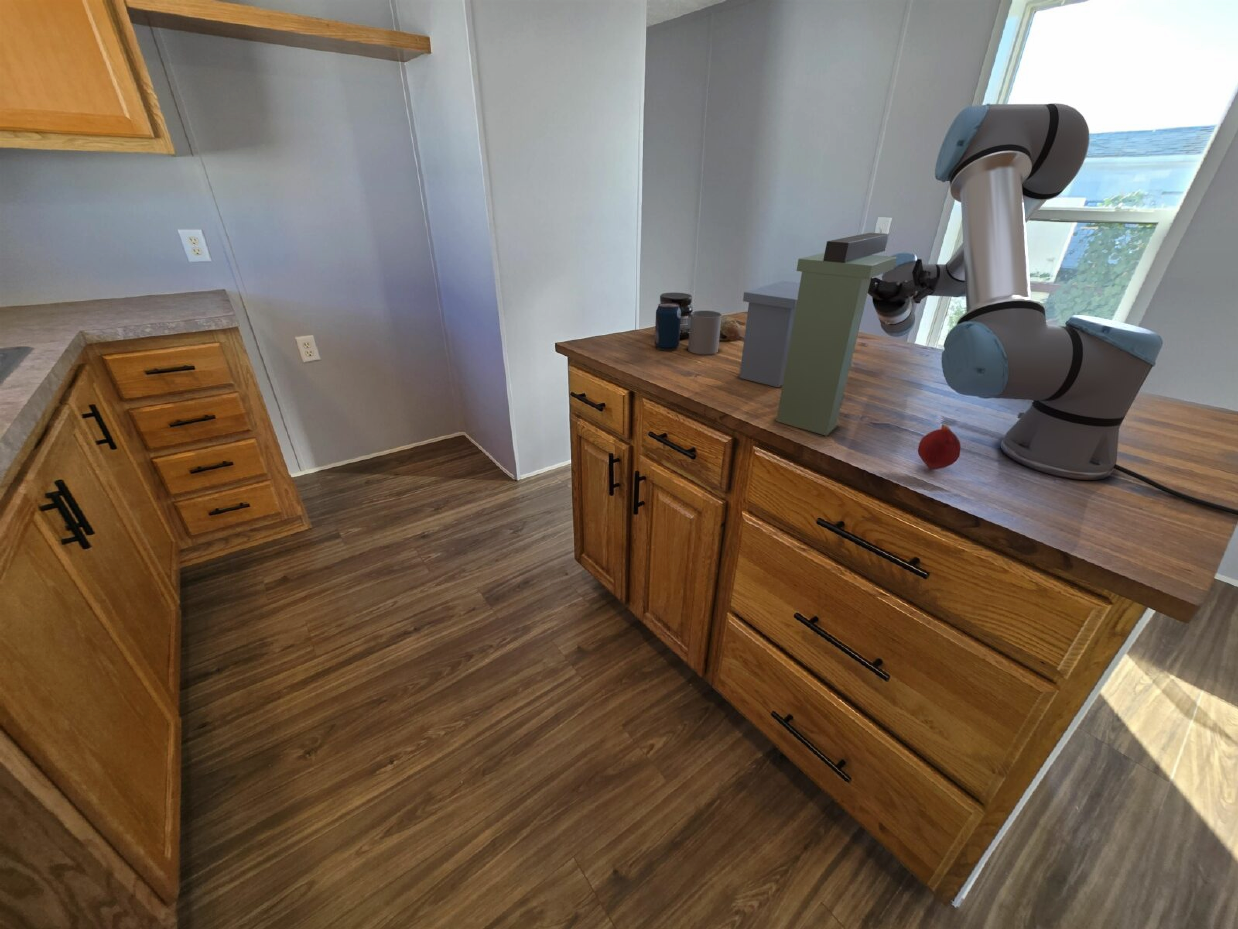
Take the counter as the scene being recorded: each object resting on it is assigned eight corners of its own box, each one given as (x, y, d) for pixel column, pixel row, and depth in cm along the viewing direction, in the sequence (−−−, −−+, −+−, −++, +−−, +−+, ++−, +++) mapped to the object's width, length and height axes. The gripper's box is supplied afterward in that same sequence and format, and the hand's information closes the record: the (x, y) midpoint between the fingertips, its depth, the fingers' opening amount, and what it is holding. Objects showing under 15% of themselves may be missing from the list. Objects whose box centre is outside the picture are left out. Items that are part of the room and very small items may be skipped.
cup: (717, 355, 138) (721, 318, 133) (687, 353, 139) (689, 316, 134) (718, 346, 145) (722, 311, 140) (689, 345, 146) (692, 309, 142)
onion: (952, 466, 84) (969, 423, 80) (951, 481, 80) (968, 436, 76) (914, 457, 87) (928, 415, 83) (910, 471, 83) (925, 427, 79)
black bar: (884, 250, 96) (889, 233, 95) (844, 262, 82) (848, 242, 80) (865, 249, 98) (869, 232, 97) (823, 260, 83) (826, 241, 82)
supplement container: (663, 329, 161) (665, 290, 155) (695, 333, 157) (698, 293, 152) (651, 337, 153) (652, 296, 147) (684, 342, 149) (687, 300, 143)
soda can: (683, 347, 144) (686, 304, 138) (669, 352, 140) (671, 308, 134) (664, 343, 148) (666, 300, 142) (649, 348, 144) (651, 304, 138)
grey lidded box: (814, 368, 129) (830, 286, 119) (780, 389, 115) (795, 299, 105) (770, 358, 135) (782, 280, 126) (733, 377, 122) (743, 291, 112)
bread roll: (705, 350, 154) (707, 329, 148) (706, 328, 160) (708, 307, 153) (738, 352, 153) (741, 331, 146) (738, 329, 158) (742, 308, 152)
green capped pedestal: (856, 414, 103) (896, 256, 88) (831, 437, 94) (871, 265, 79) (800, 400, 110) (828, 251, 95) (771, 419, 101) (798, 258, 86)
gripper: (945, 326, 113) (942, 288, 95) (833, 310, 127) (812, 273, 109) (958, 293, 112) (957, 249, 95) (844, 280, 126) (825, 239, 109)
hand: (879, 262), depth 102 cm, fingers open, 13 cm apart
